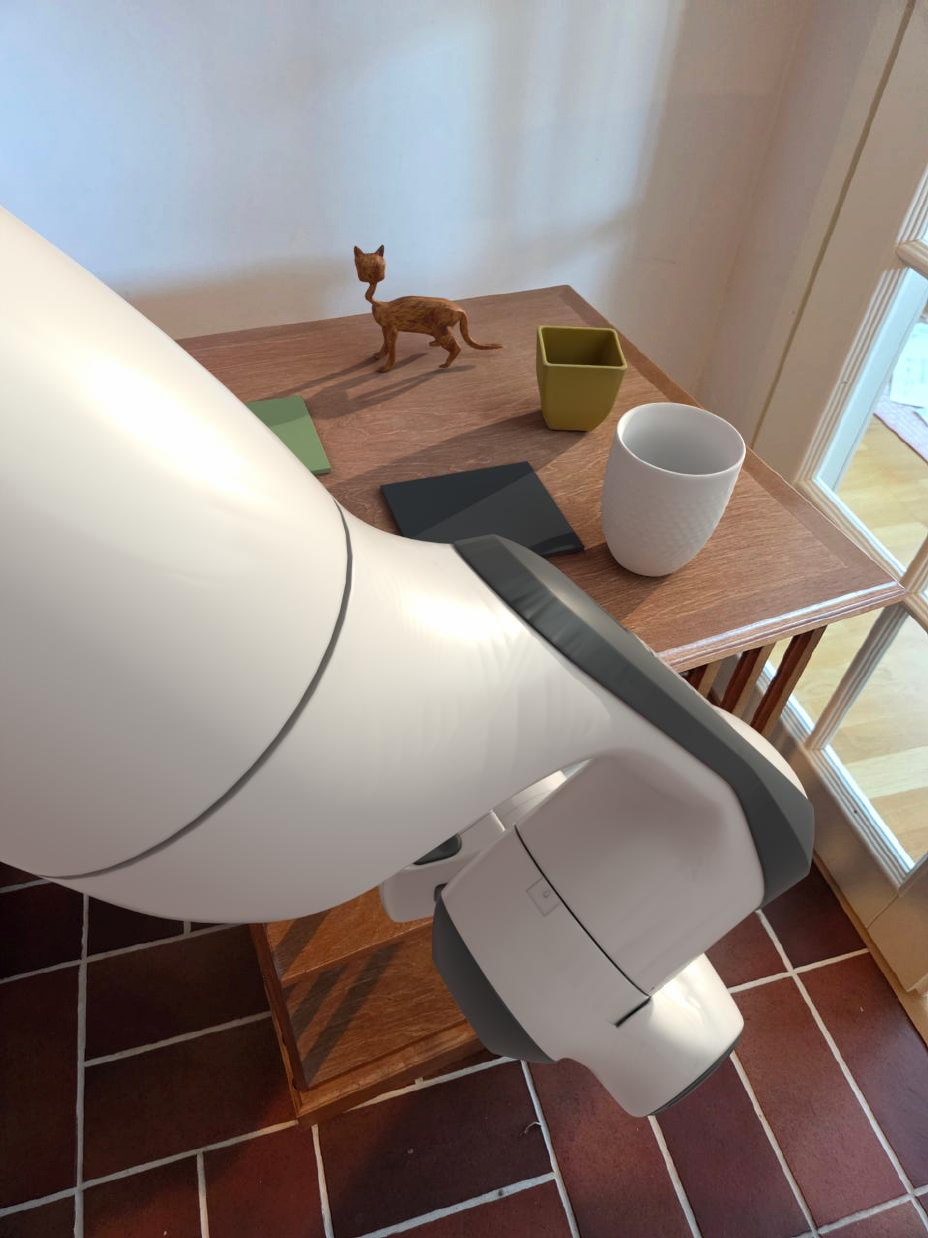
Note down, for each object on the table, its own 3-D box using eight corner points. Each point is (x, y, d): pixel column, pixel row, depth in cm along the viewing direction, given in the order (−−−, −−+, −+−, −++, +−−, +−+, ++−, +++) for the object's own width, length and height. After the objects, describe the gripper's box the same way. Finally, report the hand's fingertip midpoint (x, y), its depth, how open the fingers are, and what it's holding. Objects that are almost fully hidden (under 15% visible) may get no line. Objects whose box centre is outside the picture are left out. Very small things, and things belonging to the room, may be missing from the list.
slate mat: (422, 583, 74) (422, 578, 74) (380, 489, 83) (379, 484, 83) (583, 550, 79) (585, 546, 78) (527, 465, 87) (527, 460, 87)
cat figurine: (495, 342, 105) (506, 231, 95) (509, 368, 101) (522, 255, 91) (354, 350, 102) (350, 236, 92) (362, 379, 97) (359, 262, 87)
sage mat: (168, 498, 80) (166, 493, 80) (153, 419, 89) (152, 414, 88) (331, 472, 84) (331, 467, 84) (302, 399, 93) (301, 395, 93)
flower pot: (526, 396, 97) (536, 323, 90) (600, 399, 97) (615, 327, 91) (532, 439, 91) (543, 364, 84) (611, 442, 91) (628, 368, 85)
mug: (580, 489, 85) (603, 374, 76) (686, 495, 86) (722, 382, 76) (594, 591, 75) (623, 472, 65) (714, 597, 75) (761, 480, 66)
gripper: (656, 730, 52) (529, 594, 60) (366, 887, 44) (262, 706, 52) (635, 785, 57) (519, 652, 65) (369, 936, 48) (273, 763, 56)
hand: (403, 677), depth 58 cm, fingers open, 8 cm apart
